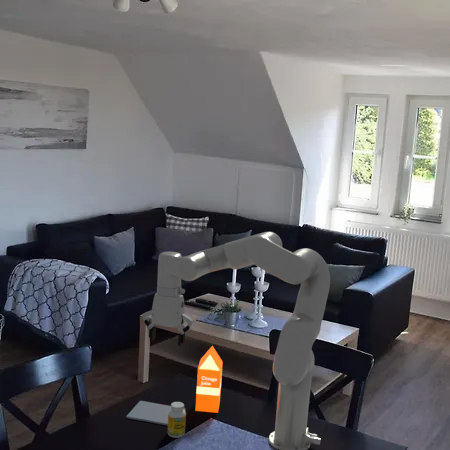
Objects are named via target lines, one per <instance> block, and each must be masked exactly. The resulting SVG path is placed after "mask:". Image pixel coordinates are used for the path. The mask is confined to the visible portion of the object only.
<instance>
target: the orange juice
mask: <svg viewBox="0 0 450 450" xmlns="http://www.w3.org/2000/svg"><path fill="white" fill-rule="evenodd" d="M222 375H223V360H222V359H221V357H220V355H219V354H218V351H216V349H215V348H214V346H213V345H212V346H211V347H210V348H209V349H208V350H207V351H206V352H205V354H204V355H203V356H202V357H201V358H200V360H199V364H198V367H197V376H196V377H197V379H196V380H197V381H196V392H195V394H196V395H195V396H196V397H195V410H194V411H195V412H206V413H217V414H218V413H219V408H220V402H221V390H222V378H223V377H222Z"/></svg>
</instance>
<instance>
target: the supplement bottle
mask: <svg viewBox="0 0 450 450" xmlns="http://www.w3.org/2000/svg"><path fill="white" fill-rule="evenodd" d="M170 406H171V410H170V411H169V413H168V426H167V434H168V436H169V437H171V438H175V439H176V438H182V437H183V436H184V435H185V434H186V422H187V421H186V419H187V418H186V417H187V412H186V410H184V408H185V404H184V403H183V402H181V401H173V402H171V404H170Z"/></svg>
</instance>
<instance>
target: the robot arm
mask: <svg viewBox="0 0 450 450" xmlns="http://www.w3.org/2000/svg"><path fill="white" fill-rule="evenodd" d="M157 259H158V262H157V263H158V264H157V283H156V284H157V285H156V293H155V294H154V297H153V301H152V307H151V310H149V311H146V312H144V313H142V314H141V317H142V320H143V322H144V324H145V326H146V327H147V329H148V338H149V341H150V342H154V340H155V339H156V336H157V335H156V334H157V333H156V331H157V330H156V329H157V328H156V326H162V327H169V328H177V330H178V332H179V334H178V338H177V341H178V342H177V346H179V347H181V346H183V344H184V343H185V341H186V332H188V331H189V330H190V329H191V327H192V326H193V325H194V322H195V321H194V319H192V318H191V317H189V316H188V315H187V314H186V311H185V309H186V308H185V299H184V295H183V294H185V292H186V289H185V288H182V280H183V281H186V282H192V281H195V280H197V279H199V278H200V277H202V276H204V275H206V274H209V273H212V272H216V271H217V272H218V271H221V270H224V269H225V270H226V269H232V270H239V269H242V268H247V267H251V266H254V265H255V266H256V267H258V268H259V269H261V270H263V271H264V272H266V273H268V274H270V275H272V276H274V277H276V278H278V279H279V280H282V281H283V282H286V283H288V284H292V285H300V286H299V290H298V293H297V296H296V297H297V298H296V302H295V305H294V310H293V311H292V312H293V313H292V315H291V316H290V317H289V318H288V319H287V320H286V321H285V323H284V324H283V326H282V328H281V330H280V334H279V337H278V341H277V345H276V350H275V353H274V356H273V357H274V359H273V362H272V372H273V376H274V378H275V380H276V381H277V382H278V388H277V397H276V398H277V399H276V400H277V401H276V412H275V413H276V414H275V425H274V431H272V432H270V434H269V437H268V443H269V445H271V446H272V447H273V448H274V449H276V450H278V449H279V450H308V449H309V448H310V447H311V444H314V445H321V439H322V438H320V437H318V434H317V433H310V432H309V427H307V425H308V416H309V405H310V397H311V387H312V380H313V373H314V368H315V355H314V352H313V350H312V347H313V345H314V343H315V341H316V340H317V338H318V337H319V334H320V332H321V327H322V322H323V318H324V314H325V311H326V305H327V301H328V295H329V292H330V286H331V273H330V270H329V265H328V264H327V262H326V261H325V260H324V258H323V256H322V255H321V254H319V252H317V251H316V250H313V249H311V248H306V247H305V248H300V249H297V250H295V251H293V252H292V251H290V250H288V249H286V248H284V247H283V242H282V238H280V235H278V234H277V233H275V232H273V231H264V232H261V233H257V234H253V235H250V236H246V237H243V238H239V239H236V240H233V241H230V242H225V243H223V244H220V245H218V246H214V247H211V248H207V249H203V250H200V251H197V252H194V253H191V254H189V255H185V256H182V254H181V253H180V252H176V251H162V252H161V253H160V254H159V256H158V258H157ZM149 316H151V317H150V319H149ZM185 322H186V323H187V325H186V326H185V324H184V323H185Z"/></svg>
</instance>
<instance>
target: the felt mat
mask: <svg viewBox="0 0 450 450" xmlns="http://www.w3.org/2000/svg"><path fill="white" fill-rule="evenodd" d="M170 410H171V405H167V404H162V403H156V402H151V401H145V400H139V401H138V402H137V404H135V406H134V407H133V408H132V409H131V411H130V412H129V413H128V414H127V415H126V416H125V417H126V419H129V420H136V421H141V422H147V423H151V424H152V423H153V424H157V425H163V426H167V427H168V413H169V411H170ZM184 410H185V411H186V410H187V409H186V408H185V407H184Z"/></svg>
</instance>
